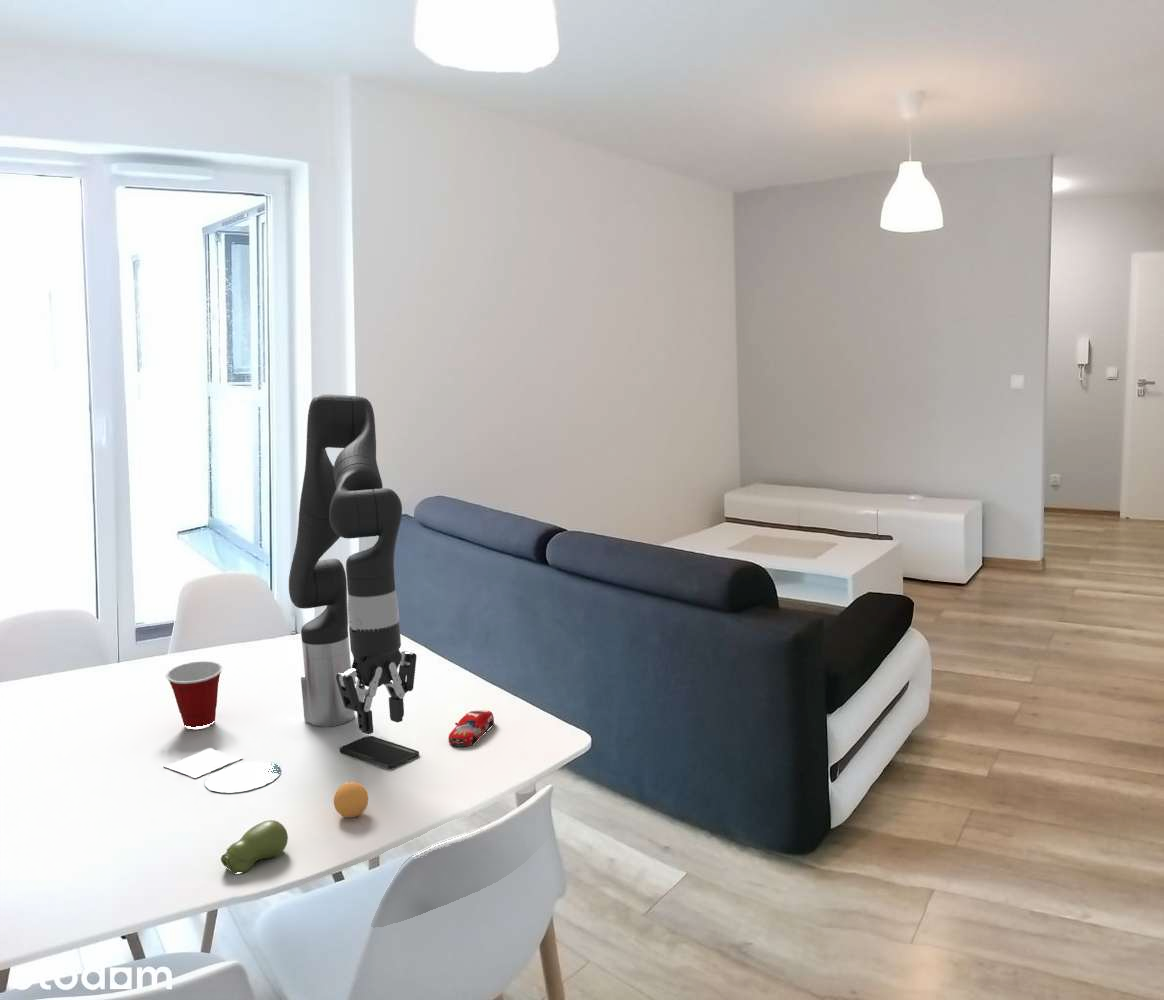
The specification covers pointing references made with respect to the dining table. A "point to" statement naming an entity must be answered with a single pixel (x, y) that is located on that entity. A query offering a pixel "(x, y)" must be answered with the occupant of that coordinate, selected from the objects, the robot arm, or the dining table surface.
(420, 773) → the dining table surface
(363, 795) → the ball
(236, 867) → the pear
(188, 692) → the plastic cup
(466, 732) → the race car
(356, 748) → the phone
